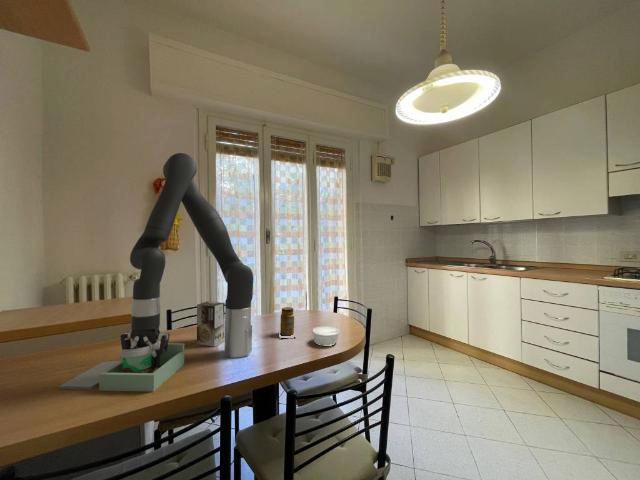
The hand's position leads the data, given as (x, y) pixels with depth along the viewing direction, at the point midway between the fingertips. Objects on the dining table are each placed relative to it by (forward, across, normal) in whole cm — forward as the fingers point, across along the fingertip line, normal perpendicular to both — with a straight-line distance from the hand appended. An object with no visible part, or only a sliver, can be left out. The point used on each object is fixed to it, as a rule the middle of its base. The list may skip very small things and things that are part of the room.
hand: (144, 367), depth 85 cm
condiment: (+2, -39, -39) cm, 55 cm away
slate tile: (+3, +14, 0) cm, 14 cm away
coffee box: (+3, -9, -29) cm, 30 cm away
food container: (+3, 0, 0) cm, 3 cm away
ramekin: (+2, -56, -31) cm, 64 cm away
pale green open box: (+3, 0, 0) cm, 3 cm away
